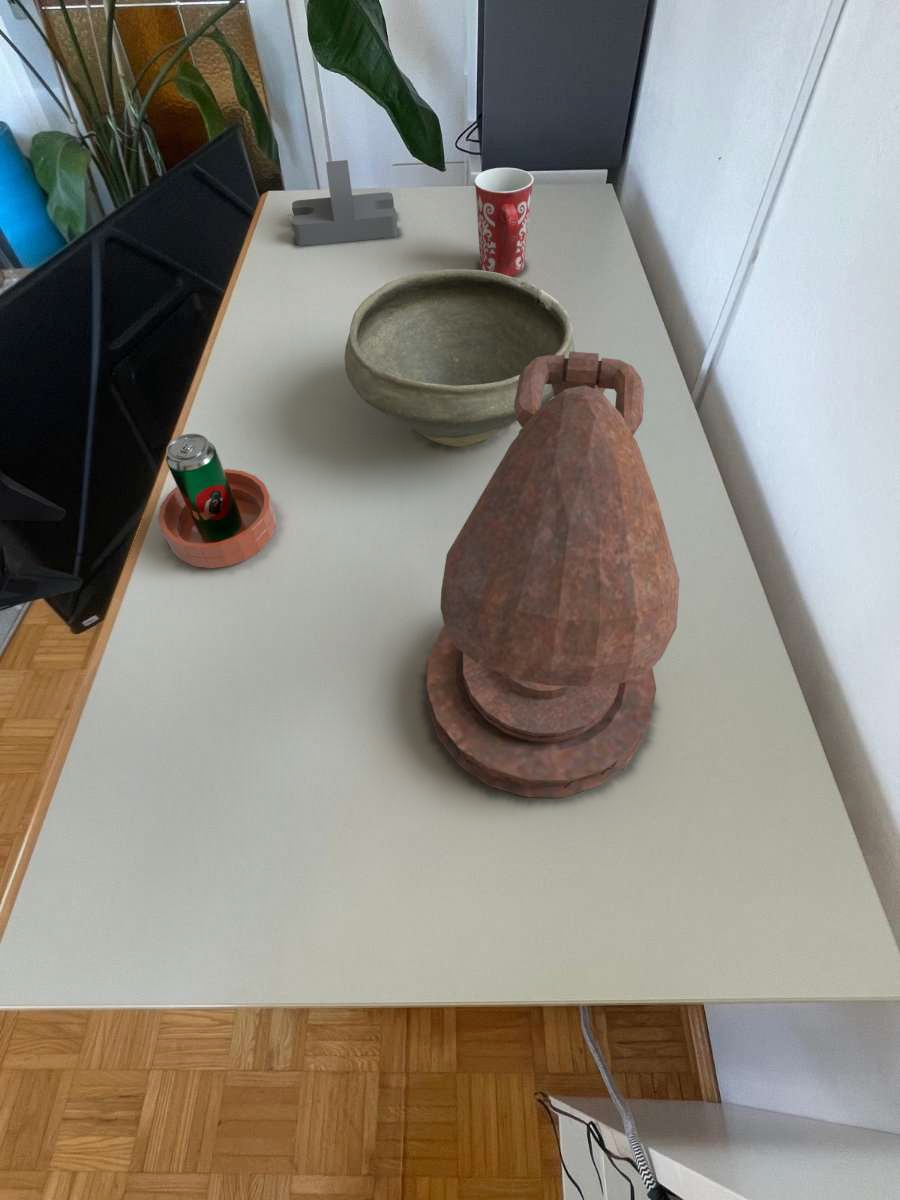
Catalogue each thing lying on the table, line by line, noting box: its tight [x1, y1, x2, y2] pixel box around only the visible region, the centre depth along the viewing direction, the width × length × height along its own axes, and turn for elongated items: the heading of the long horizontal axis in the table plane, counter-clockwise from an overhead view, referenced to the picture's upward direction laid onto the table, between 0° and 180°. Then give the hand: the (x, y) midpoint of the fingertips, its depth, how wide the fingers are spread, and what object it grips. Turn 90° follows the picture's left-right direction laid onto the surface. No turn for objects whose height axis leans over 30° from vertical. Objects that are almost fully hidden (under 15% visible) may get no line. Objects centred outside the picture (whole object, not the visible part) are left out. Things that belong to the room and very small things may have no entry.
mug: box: [473, 167, 535, 277], centre depth 109 cm, size 13×9×14 cm
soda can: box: [165, 433, 242, 541], centre depth 76 cm, size 5×5×12 cm
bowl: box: [344, 268, 576, 448], centre depth 87 cm, size 28×28×14 cm
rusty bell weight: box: [426, 351, 680, 798], centre depth 50 cm, size 21×32×40 cm, turn 170°
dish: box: [157, 468, 277, 569], centre depth 79 cm, size 12×12×4 cm
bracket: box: [291, 159, 399, 247], centre depth 121 cm, size 10×18×11 cm, turn 98°
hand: (71, 548), depth 62 cm, fingers open, 9 cm apart
